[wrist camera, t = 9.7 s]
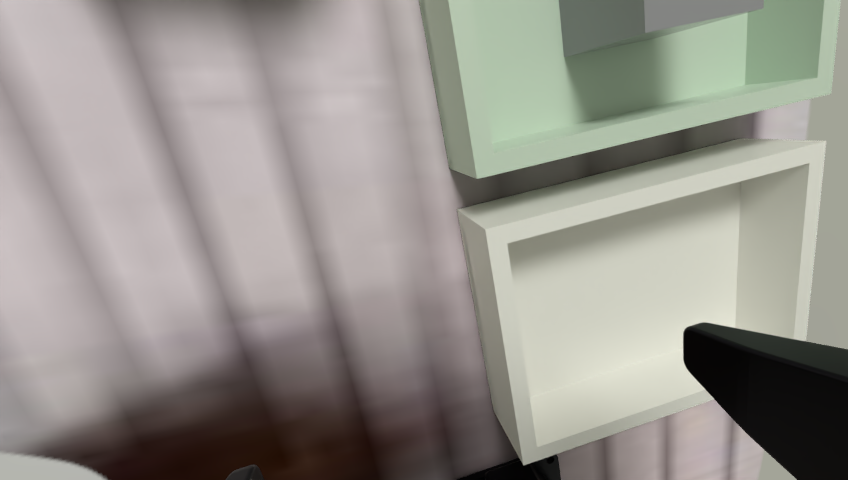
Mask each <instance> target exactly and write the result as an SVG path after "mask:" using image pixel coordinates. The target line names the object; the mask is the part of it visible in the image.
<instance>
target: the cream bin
mask: <svg viewBox="0 0 848 480" xmlns="http://www.w3.org/2000/svg"><path fill="white" fill-rule="evenodd" d="M825 149H826V141H809V140H778V139H746V138H741V139H737V140H733V141H729V142H725V143H721V144H717V145H713V146H709V147H705V148H701V149H697V150H693V151H689V152H685V153H681V154H677V155H673V156H669V157H665V158H661V159H657V160H653V161H649V162H645V163H641V164H637V165H633V166H629V167H625V168H621V169H617V170H613V171H609V172H605V173H601V174H597V175H593V176H589V177H585V178H581V179H577V180H573V181H569V182H565V183H561V184H557V185H553V186H549V187H545V188H541V189H537V190H533V191H529V192H525V193H521V194H517V195H513V196H509V197H505V198H501V199H497V200H493V201H489V202H485V203H481V204H477V205H473V206H469V207H465V208H461V209H457V213H458V219H459V224H460V230H461V235H462V241H463V246H464V252H465V257H466V263H467V268H468V274H469V279H470V285H471V290H472V296H473V301H474V307H475V312H476V318H477V324H478V329H479V335H480V340H481V346H482V351H483V357H484V362H485V368H486V373H487V379H488V384H489V390H490V395H491V401H492V406H493V411H494V413H495V414H496V416H497V418H498V420H499V422H500V424H501V425H502V427H503V429H504V431H505V433H506V435H507V436H508V438H509V440H510V442H511V444H512V446H513V447H514V449H515V451H516V453H517V455H518V457H519V458H520V460H521V462H522V464H523V466H524V465H527V464H530V463H532V462H535V461H538V460H541V459H544V458H547V457H550V456H553V455H555V454H558V453H561V452H564V451H567V450H570V449H573V448H576V447H579V446H581V445H584V444H587V443H590V442H593V441H596V440H599V439H602V438H604V437H607V436H610V435H613V434H616V433H619V432H622V431H625V430H628V429H630V428H633V427H636V426H639V425H642V424H645V423H648V422H651V421H653V420H656V419H659V418H662V417H665V416H668V415H671V414H674V413H677V412H679V411H682V410H685V409H688V408H691V407H694V406H697V405H700V404H702V403H705V402H708V401H711V400H714V398H713V397H712V396H711V395H710V394H709V393H708V392H707V391H706V390H705V389H704V388H703V386H702V385H701V384H700V383H699V382H698V381H697V380H696V379H695V378H694V377H693V376H692V375H691V374H690V372H689V371H688V370H687V368H686V366H685V364H684V361H683V332H684V330H685V328H687V327H688V326H692V325H695V324H698V323H702V322H707V323H712V324H717V325H722V326H728V327H733V328H738V329H743V330H749V331H754V332H759V333H764V334H769V335H775V336H780V337H785V338H790V339H795V340H801V341H806V334H807V325H808V315H809V305H810V296H811V286H812V276H813V266H814V255H815V246H816V237H817V227H818V217H819V208H820V198H821V188H822V178H823V168H824V158H825Z"/></svg>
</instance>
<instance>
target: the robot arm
mask: <svg viewBox="0 0 848 480" xmlns="http://www.w3.org/2000/svg"><path fill="white" fill-rule="evenodd" d="M683 361H684V364H685V366H686V368H687V370H688V371H689V372H690V374H691V375H692V376H693V377H694V378H695V379H696V380H697V381H698V382H699V383H700V384H701V385H702V386H703V388H704V389H705V390H706V391H707V392H708V393H709V394H710V395H711V396H712V397H713V398H714V399H715V400H716V401H717V403H718V404H719V405H720V406H721V407H722V408H723V409H724V410H725V411H726V412H727V413H728V414H729V415H730V416H731V418H732V419H733V420H734V421H735V422H736V423H737V424H738V425H739V426H740V427H741V428H742V429H743V430H744V431H745V432H746V433H747V434H748V435H749V436H750V437H751V438H752V439H753V440H754V441H755V442H756V443H758V444H759V445H760V446H761V447H762V448H763V449H764V450H765V451H766V452H767V453H769V454H770V455H771V456H772V457H773V458H774V459H775V460H776V461H777V462H778V463H780V464H781V465H782V466H783V467H784V468H785V469H786V470H787V471H788V472H789V473H790V474H792V475H793V476H794V477H795V478H796V479H797V480H848V349H842V348H837V347H832V346H827V345H821V344H816V343H811V342H806V341H801V340H795V339H790V338H785V337H780V336H775V335H769V334H764V333H759V332H754V331H749V330H743V329H738V328H733V327H728V326H722V325H717V324H712V323H707V322H702V323H698V324H695V325H692V326H688V327H687V328H685V330H684V332H683ZM226 480H264V478H263V476H262V473H261V471H260V469H259V467H258V466H257V465H250V466H247V467H243V468H240V469H237V470H235V471H233V472H232V473H231V474H230V475H229V476H228V477H227V479H226ZM458 480H561V477H560V469H559V461H558V456H557V454H555V455H553V456H550V457H547V458H544V459H541V460H538V461H535V462H532V463H530V464H527V465H524V466H523V464H522V462H521V460H520V458H518V459H515V460H512V461H509V462H506V463H503V464H500V465H498V466H495V467H492V468H489V469H486V470H483V471H480V472H477V473H474V474H471V475H468V476H466V477H463V478H460V479H458Z"/></svg>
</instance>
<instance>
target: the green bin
mask: <svg viewBox="0 0 848 480" xmlns="http://www.w3.org/2000/svg"><path fill="white" fill-rule="evenodd" d="M840 2H841V0H764V8H763V9H760V10H756V11H752V12H749V13H745V14H741V15H738V16H734V17H731V18H727V19H723V20H720V21H716V22H712V23H709V24H705V25H702V26H698V27H694V28H691V29H687V30H683V31H680V32H676V33H672V34H669V35H665V36H662V37H658V38H654V39H650V40H645V41H640V42H635V43H630V44H626V45H621V46H616V47H611V48H607V49H602V50H597V51H592V52H588V53H583V54H578V55H573V56H569V57H564V53H563V42H562V31H561V20H560V9H559V0H419V4H420V9H421V15H422V20H423V26H424V31H425V37H426V42H427V48H428V53H429V59H430V64H431V70H432V75H433V81H434V86H435V92H436V97H437V103H438V108H439V114H440V119H441V125H442V131H443V136H444V142H445V147H446V153H447V158H448V164H449V169H452V170H455V171H457V172H460V173H463V174H465V175H468V176H470V177H473V178H476V179H480V178H484V177H488V176H492V175H496V174H500V173H504V172H509V171H513V170H517V169H521V168H525V167H529V166H534V165H538V164H542V163H546V162H550V161H554V160H558V159H563V158H567V157H571V156H575V155H579V154H583V153H587V152H592V151H596V150H600V149H604V148H608V147H612V146H616V145H621V144H625V143H629V142H633V141H637V140H641V139H645V138H650V137H654V136H658V135H662V134H666V133H670V132H675V131H679V130H683V129H687V128H691V127H695V126H699V125H704V124H708V123H712V122H716V121H720V120H724V119H728V118H733V117H737V116H741V115H745V114H749V113H753V112H757V111H762V110H766V109H770V108H774V107H778V106H782V105H787V104H791V103H795V102H799V101H803V100H807V99H811V98H815V97H820V96H824V95H828V94H831V89H832V80H833V71H834V60H835V51H836V40H837V31H838V22H839V11H840Z"/></svg>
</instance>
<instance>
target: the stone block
mask: <svg viewBox="0 0 848 480" xmlns="http://www.w3.org/2000/svg"><path fill="white" fill-rule="evenodd" d="M763 8H764V0H559V9H560V20H561V31H562V42H563V53H564V57H569V56H573V55H578V54H583V53H588V52H592V51H597V50H602V49H607V48H611V47H616V46H621V45H626V44H630V43H635V42H640V41H645V40H650V39H654V38H658V37H662V36H665V35H669V34H672V33H676V32H680V31H683V30H687V29H691V28H694V27H698V26H702V25H705V24H709V23H712V22H716V21H720V20H723V19H727V18H731V17H734V16H738V15H741V14H745V13H749V12H752V11H756V10H760V9H763Z"/></svg>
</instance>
